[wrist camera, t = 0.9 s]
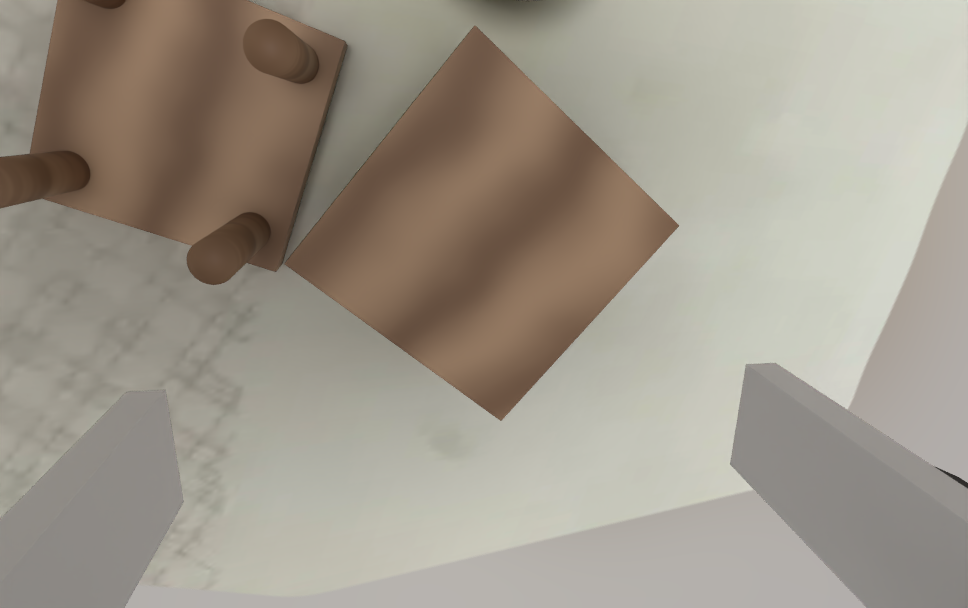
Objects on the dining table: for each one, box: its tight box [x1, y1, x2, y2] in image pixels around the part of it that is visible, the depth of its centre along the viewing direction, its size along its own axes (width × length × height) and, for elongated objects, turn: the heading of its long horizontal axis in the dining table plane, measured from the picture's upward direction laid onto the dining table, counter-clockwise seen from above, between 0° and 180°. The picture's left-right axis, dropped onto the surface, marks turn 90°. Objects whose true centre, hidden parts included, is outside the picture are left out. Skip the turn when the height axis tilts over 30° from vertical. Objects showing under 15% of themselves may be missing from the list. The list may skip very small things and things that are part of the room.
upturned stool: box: [0, 0, 348, 285], centre depth 30 cm, size 14×14×10 cm
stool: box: [285, 26, 679, 421], centre depth 34 cm, size 14×14×10 cm
